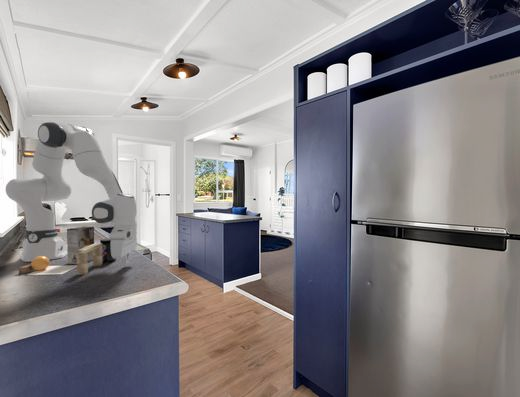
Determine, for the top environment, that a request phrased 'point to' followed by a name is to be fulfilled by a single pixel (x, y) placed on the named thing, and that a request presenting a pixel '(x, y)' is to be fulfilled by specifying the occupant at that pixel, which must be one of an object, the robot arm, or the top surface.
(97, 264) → the bridge
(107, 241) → the supplement container
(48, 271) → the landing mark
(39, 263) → the ball
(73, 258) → the coffee box
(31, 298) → the top surface
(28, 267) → the stopper
